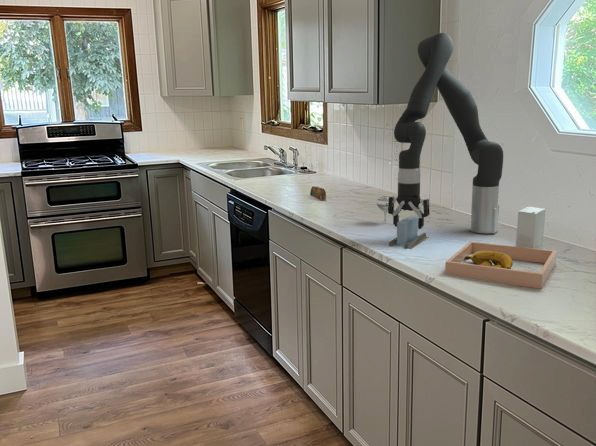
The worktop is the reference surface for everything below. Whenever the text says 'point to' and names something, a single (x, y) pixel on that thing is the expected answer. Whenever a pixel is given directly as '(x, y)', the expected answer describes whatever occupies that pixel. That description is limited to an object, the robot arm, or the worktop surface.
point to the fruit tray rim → (503, 274)
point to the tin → (318, 193)
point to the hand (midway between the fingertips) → (408, 227)
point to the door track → (412, 242)
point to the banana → (491, 259)
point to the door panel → (407, 230)
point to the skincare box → (530, 227)
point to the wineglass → (383, 204)
